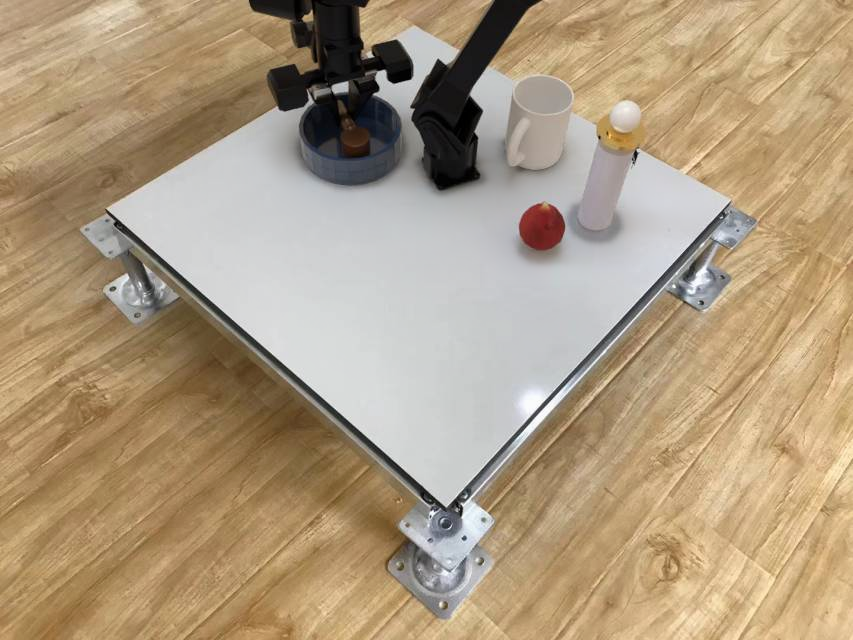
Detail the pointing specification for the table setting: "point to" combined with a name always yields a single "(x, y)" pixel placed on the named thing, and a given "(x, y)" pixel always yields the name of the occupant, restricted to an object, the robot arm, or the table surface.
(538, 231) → the onion
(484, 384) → the table surface
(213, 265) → the table surface
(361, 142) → the ladle
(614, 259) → the table surface
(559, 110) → the mug
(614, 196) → the perfume bottle
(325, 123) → the bowl
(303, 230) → the table surface
